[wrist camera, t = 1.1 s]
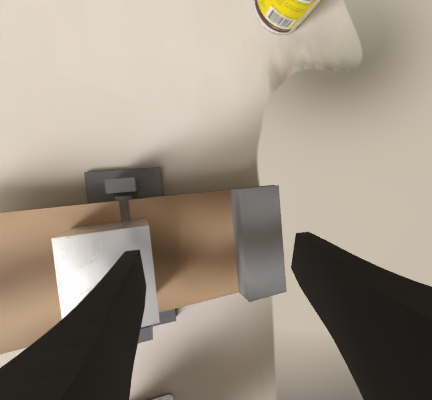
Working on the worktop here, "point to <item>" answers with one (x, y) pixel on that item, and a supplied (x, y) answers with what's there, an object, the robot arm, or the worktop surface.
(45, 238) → the beam
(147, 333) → the stand
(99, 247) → the steel block
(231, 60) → the worktop surface
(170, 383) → the worktop surface
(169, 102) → the worktop surface
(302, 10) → the supplement bottle
